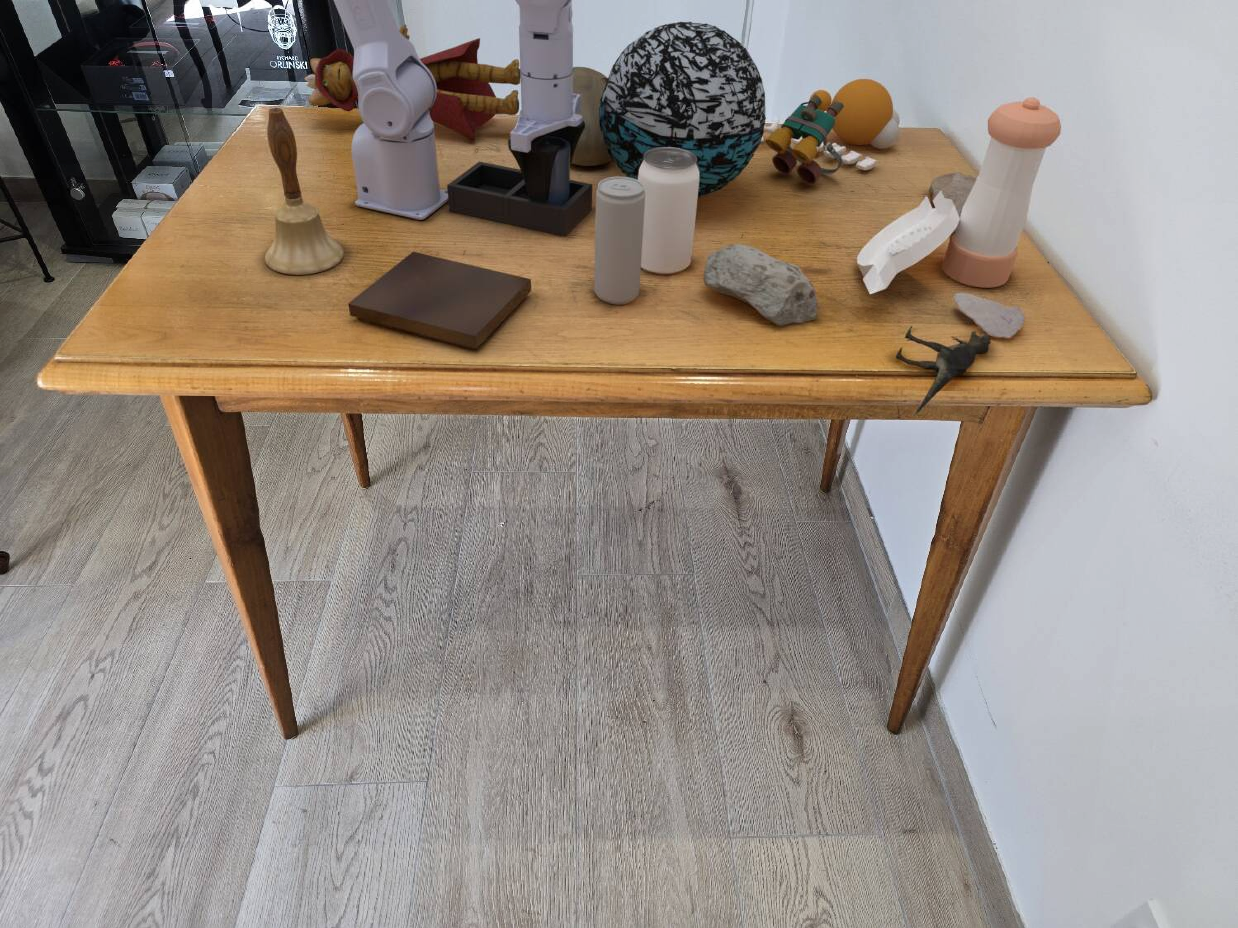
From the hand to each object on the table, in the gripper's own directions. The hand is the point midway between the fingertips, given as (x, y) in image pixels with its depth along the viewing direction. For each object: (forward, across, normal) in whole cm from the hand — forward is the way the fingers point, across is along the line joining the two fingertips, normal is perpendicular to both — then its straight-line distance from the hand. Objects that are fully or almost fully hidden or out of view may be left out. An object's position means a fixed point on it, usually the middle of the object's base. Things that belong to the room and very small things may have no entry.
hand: (548, 191), depth 105 cm
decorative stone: (+3, -8, -28) cm, 30 cm away
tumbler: (+1, 0, 0) cm, 1 cm away
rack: (+3, 0, +4) cm, 5 cm away
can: (+3, -5, -16) cm, 17 cm away
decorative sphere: (+3, +13, -12) cm, 18 cm away
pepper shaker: (+3, +8, -50) cm, 50 cm away
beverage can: (+3, -14, -14) cm, 20 cm away
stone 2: (+3, -3, -51) cm, 51 cm away
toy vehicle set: (+1, +34, -28) cm, 44 cm away
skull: (+3, +23, +7) cm, 24 cm away
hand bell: (+3, -21, +20) cm, 29 cm away
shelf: (+3, -24, +1) cm, 24 cm away
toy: (+1, +39, -22) cm, 44 cm away
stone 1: (+4, +24, -48) cm, 54 cm away
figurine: (-2, +24, +15) cm, 28 cm away
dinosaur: (+1, -15, -43) cm, 46 cm away
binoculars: (+3, +25, -25) cm, 36 cm away
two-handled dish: (0, +5, -42) cm, 42 cm away
